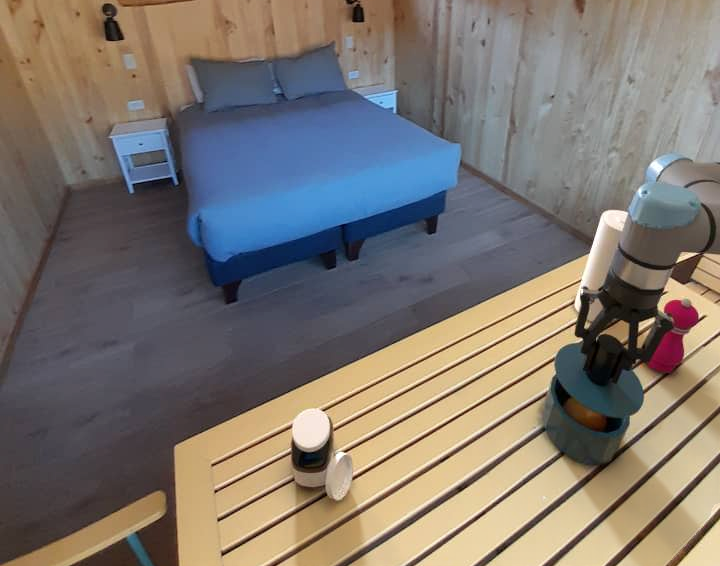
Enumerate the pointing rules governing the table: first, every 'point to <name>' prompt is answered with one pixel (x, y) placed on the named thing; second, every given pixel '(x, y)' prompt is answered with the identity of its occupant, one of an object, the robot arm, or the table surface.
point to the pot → (580, 430)
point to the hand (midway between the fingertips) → (599, 370)
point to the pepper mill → (674, 336)
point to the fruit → (584, 416)
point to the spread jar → (319, 455)
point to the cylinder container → (601, 256)
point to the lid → (599, 379)
